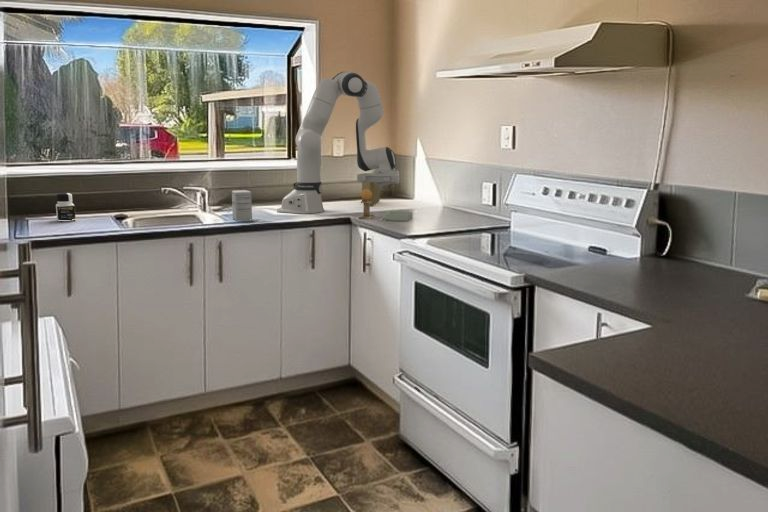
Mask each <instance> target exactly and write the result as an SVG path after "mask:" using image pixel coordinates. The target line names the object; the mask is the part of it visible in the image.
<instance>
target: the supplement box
mask: <svg viewBox="0 0 768 512" xmlns="http://www.w3.org/2000/svg"><path fill="white" fill-rule="evenodd" d="M252 202H253V201H252V191H249V190H247V189H241V190H240V189H239V190H238V189H237V190H231V203H232V204H231V207H232V208H231V209H232V210H231V211H232V219H233V220H235V221H236V220H243V221H251V220H250V219H252V220H253V209H252V208H253V205H252V204H253V203H252Z"/></svg>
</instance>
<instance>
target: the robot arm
mask: <svg viewBox="0 0 768 512" xmlns="http://www.w3.org/2000/svg"><path fill="white" fill-rule="evenodd" d="M341 95H343V96H346V97H353V98H355V99H356V100H357V102H358V107H359V117H358V118H357V119H356V121H355V140H356V163H357V167H358V168H359V169H361V170H362V171H363V172H367V173H363V172H362V173H358V174H356V182H358V183H362V182H374V183H375V184H376V185H378V186H380V187H384V186H388V185H398V184H399V183H400V170H398V169H396V165H397V160H396V155H395V152H394V151H393V150H392V149H391V148H390V147H389V146H384V147H378V148H374V149H372V148H371V149H367V145H366V144H367V143H366V142H367V141H366V132H367V131H368V129H370V128H371V127H372V126H375V125H376V124H378V122H380V121H381V120H382V118H383V116H384V107H383V106H384V105H383V102H382V98H381V96H380V93H379V90H378V88H377V85H376V84H375V83H374V82H372V81H366V80H364V78H363V77H362V76H361V75H360V74H358V73H355V72H353V71H341V72H339V73H337V74H336V75H335V76H334V77H332V78H330V77H329V78H328V77H327V78H323V79H321V80H320V82H319V83H318V84H317V86H316V89H315V90H314V92H313V95H312V98H311V99H310V102H309V104H308V108H307V110H306V112H305V114H304V117H303V119H302V121H301V123H300V126H299V128H298V130H297V133H296V136H295V144H296V146H297V151H296V152H297V156H296V157H297V158H296V179H297V180H296V182H294V183H292V187H293V190H292V191H290V192H288V193H287V194H286V195H285V196H284V197H283V198H282V200H281V207H278V208H277V209H276V212H277V213H287V214H302V215H303V214H304V215H306V214H318V213H322V212H325V208H324V205H323V199H322V192H323V191H322V190H323V189H322V188H323V187H322V181H321V159H322V158H321V157H322V138H321V137H322V136H323V133H324V131H325V129H326V128H327V125H328V123H329V122H330V118H331V116H332V114H333V110H334V108H335V106H336V103H337V100H338V99H339V97H340V96H341ZM373 170H374V171H373ZM369 171H373V172H371V173H370V172H369Z"/></svg>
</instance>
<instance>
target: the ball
mask: <svg viewBox="0 0 768 512" xmlns="http://www.w3.org/2000/svg"><path fill="white" fill-rule="evenodd" d="M360 196H361V199H362V198H363V199H364V200H369V199H371V197H372V192H371V191H370V190H369V189H364V190H363V191H362V190H361V192H360Z"/></svg>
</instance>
